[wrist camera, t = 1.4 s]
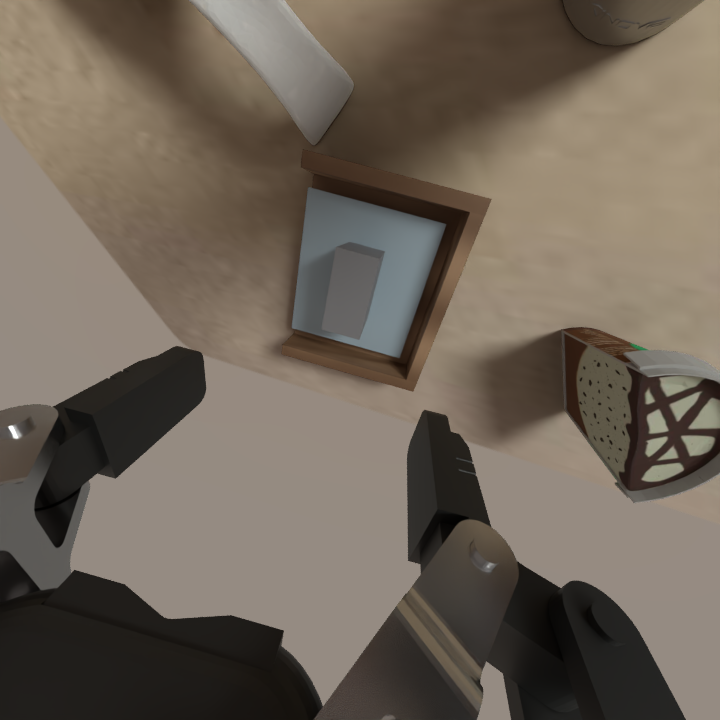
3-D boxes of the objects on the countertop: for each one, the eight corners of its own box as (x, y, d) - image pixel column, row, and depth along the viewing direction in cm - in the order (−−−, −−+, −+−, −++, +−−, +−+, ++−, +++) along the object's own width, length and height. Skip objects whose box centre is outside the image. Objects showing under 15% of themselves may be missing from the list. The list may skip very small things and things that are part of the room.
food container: (634, 410, 27) (742, 501, 18) (564, 420, 29) (633, 507, 20) (644, 294, 22) (799, 341, 14) (560, 314, 24) (649, 368, 15)
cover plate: (312, 188, 22) (281, 177, 16) (444, 224, 21) (457, 224, 16) (295, 324, 27) (268, 349, 22) (399, 353, 27) (398, 385, 22)
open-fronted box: (319, 160, 22) (302, 149, 18) (477, 202, 21) (491, 199, 18) (296, 338, 29) (281, 354, 26) (412, 370, 29) (413, 391, 25)
